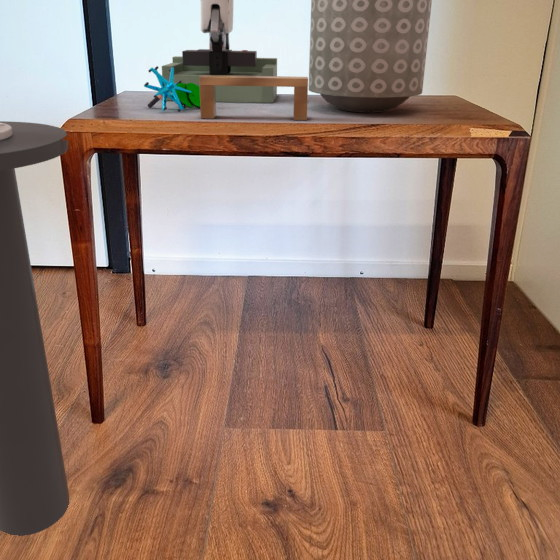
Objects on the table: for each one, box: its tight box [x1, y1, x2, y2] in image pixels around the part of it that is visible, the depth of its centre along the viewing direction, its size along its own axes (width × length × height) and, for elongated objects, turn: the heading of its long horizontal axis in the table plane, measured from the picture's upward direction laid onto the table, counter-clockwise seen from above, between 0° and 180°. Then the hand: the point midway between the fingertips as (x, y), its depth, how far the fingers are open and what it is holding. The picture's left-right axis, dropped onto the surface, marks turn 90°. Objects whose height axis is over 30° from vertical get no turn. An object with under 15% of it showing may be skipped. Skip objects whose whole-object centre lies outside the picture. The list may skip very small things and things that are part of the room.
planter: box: [308, 0, 433, 113], centre depth 98 cm, size 19×19×18 cm
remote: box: [181, 48, 258, 67], centre depth 108 cm, size 13×5×3 cm, turn 89°
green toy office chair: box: [143, 65, 201, 113], centre depth 99 cm, size 12×7×8 cm
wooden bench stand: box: [199, 75, 309, 121], centre depth 90 cm, size 16×3×6 cm, turn 89°
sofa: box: [161, 55, 278, 104], centre depth 112 cm, size 12×20×7 cm, turn 87°
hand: (220, 72), depth 109 cm, fingers closed on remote, 5 cm apart
